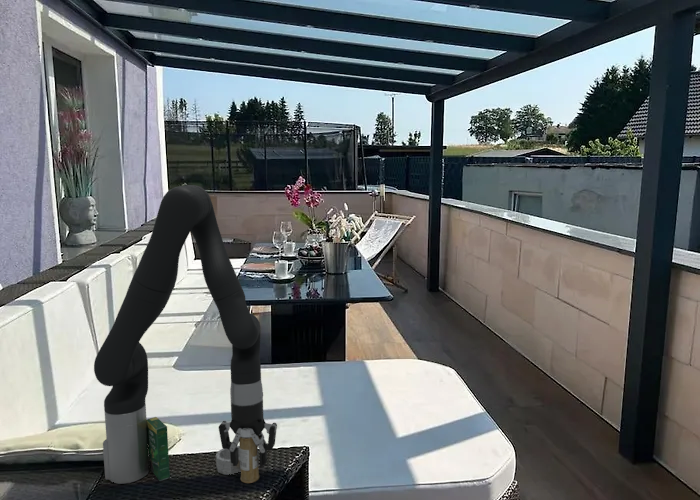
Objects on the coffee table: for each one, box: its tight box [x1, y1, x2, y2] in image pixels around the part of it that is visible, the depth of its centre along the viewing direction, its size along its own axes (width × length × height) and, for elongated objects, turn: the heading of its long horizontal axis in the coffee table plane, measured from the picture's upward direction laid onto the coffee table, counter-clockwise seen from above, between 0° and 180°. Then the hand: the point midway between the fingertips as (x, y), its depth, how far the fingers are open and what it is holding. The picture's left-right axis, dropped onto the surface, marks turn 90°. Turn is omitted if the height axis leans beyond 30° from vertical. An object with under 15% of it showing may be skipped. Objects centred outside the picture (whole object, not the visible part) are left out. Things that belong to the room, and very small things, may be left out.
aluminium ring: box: [215, 445, 241, 476], centre depth 130 cm, size 8×8×4 cm
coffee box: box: [146, 416, 171, 482], centre depth 127 cm, size 8×3×13 cm, turn 38°
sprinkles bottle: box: [238, 428, 260, 484], centre depth 124 cm, size 5×5×13 cm
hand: (249, 464), depth 124 cm, fingers open, 6 cm apart
